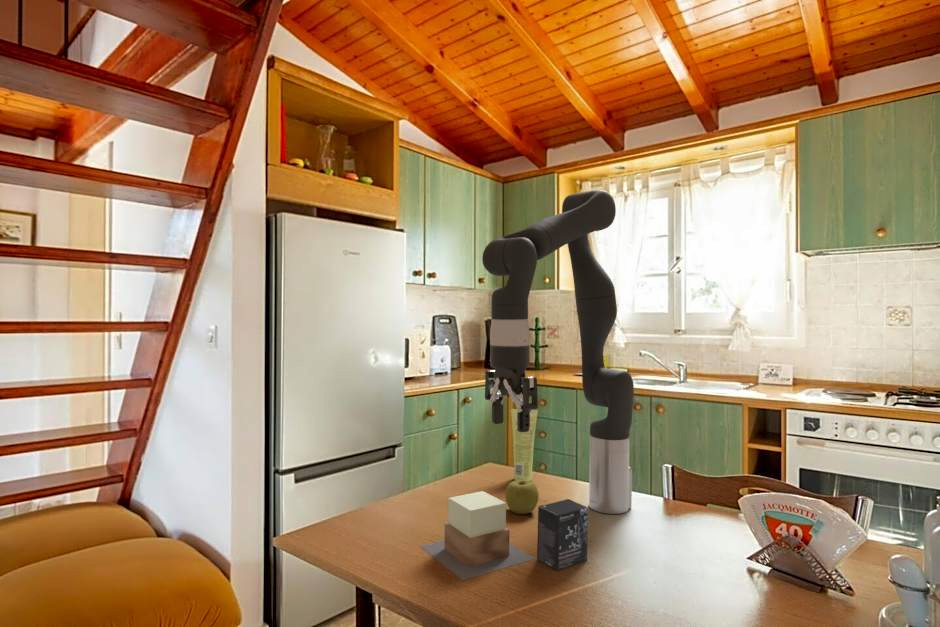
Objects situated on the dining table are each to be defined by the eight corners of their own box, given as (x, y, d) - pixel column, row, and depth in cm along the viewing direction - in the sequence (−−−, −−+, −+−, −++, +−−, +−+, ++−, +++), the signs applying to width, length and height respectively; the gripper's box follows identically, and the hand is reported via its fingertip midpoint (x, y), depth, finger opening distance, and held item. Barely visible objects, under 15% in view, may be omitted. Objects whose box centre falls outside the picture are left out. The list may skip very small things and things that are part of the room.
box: (557, 573, 98) (557, 514, 98) (536, 561, 103) (536, 505, 103) (588, 563, 102) (588, 506, 102) (567, 551, 107) (567, 497, 107)
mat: (487, 531, 117) (487, 529, 117) (535, 560, 103) (535, 558, 103) (420, 548, 108) (420, 546, 108) (462, 582, 95) (462, 580, 95)
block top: (482, 515, 111) (482, 491, 111) (505, 529, 104) (506, 502, 104) (448, 523, 107) (448, 497, 107) (470, 538, 100) (470, 510, 100)
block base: (482, 539, 112) (483, 514, 112) (509, 555, 104) (509, 529, 104) (444, 548, 107) (444, 523, 107) (469, 567, 99) (469, 539, 99)
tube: (525, 475, 157) (526, 407, 157) (537, 480, 153) (538, 409, 153) (509, 478, 154) (510, 409, 154) (521, 483, 150) (522, 411, 150)
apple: (498, 513, 127) (498, 482, 127) (518, 504, 133) (518, 475, 133) (525, 522, 122) (525, 489, 122) (545, 512, 128) (545, 481, 128)
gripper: (548, 344, 101) (549, 432, 101) (504, 340, 113) (505, 418, 113) (515, 346, 97) (515, 437, 97) (473, 341, 109) (474, 422, 110)
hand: (510, 427), depth 105 cm, fingers open, 8 cm apart
